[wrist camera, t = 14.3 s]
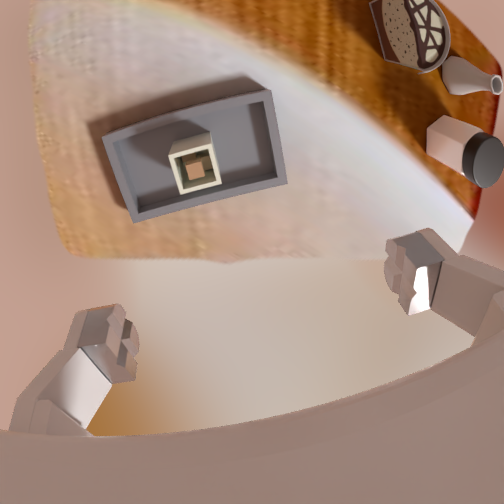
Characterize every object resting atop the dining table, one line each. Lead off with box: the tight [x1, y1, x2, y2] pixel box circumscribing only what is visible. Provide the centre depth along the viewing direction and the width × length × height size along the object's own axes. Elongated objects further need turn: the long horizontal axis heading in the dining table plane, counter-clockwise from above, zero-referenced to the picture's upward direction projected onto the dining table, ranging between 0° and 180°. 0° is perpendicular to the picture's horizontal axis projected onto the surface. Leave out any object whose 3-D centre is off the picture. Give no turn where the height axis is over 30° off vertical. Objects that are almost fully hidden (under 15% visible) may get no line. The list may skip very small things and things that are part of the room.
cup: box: [168, 132, 222, 195], centre depth 38 cm, size 5×5×8 cm
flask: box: [442, 56, 503, 95], centre depth 34 cm, size 7×7×10 cm
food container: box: [369, 0, 450, 74], centre depth 30 cm, size 12×6×10 cm, turn 17°
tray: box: [102, 89, 288, 223], centre depth 40 cm, size 13×22×3 cm, turn 100°
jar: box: [426, 115, 504, 188], centre depth 40 cm, size 9×8×12 cm
